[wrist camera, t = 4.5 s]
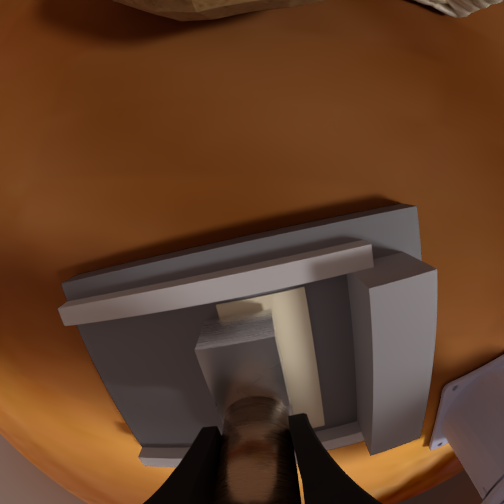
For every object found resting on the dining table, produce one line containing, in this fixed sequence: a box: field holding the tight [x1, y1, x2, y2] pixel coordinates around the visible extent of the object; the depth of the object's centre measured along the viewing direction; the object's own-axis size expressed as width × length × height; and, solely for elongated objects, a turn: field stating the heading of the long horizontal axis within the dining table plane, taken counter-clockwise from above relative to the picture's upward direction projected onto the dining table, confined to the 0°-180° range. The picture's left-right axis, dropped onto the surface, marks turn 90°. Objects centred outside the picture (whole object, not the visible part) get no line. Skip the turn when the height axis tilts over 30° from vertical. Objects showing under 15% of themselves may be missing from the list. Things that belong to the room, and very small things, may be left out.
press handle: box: [195, 309, 301, 504], centre depth 10 cm, size 3×8×8 cm, turn 13°
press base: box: [58, 204, 437, 467], centre depth 14 cm, size 18×14×4 cm
